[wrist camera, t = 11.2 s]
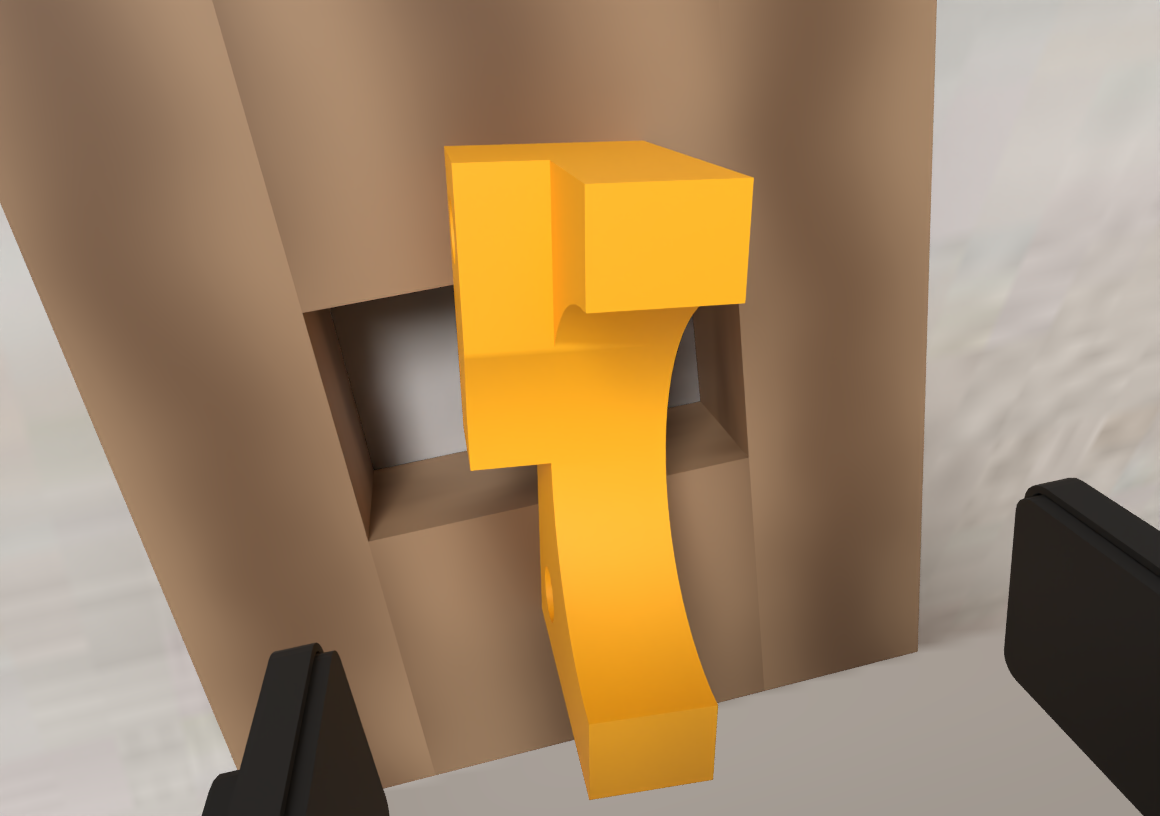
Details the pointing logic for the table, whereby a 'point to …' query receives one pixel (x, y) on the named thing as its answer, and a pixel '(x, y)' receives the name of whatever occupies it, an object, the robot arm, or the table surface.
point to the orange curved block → (597, 412)
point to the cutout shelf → (424, 261)
